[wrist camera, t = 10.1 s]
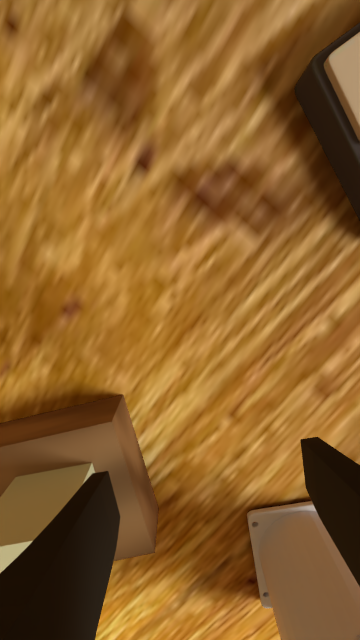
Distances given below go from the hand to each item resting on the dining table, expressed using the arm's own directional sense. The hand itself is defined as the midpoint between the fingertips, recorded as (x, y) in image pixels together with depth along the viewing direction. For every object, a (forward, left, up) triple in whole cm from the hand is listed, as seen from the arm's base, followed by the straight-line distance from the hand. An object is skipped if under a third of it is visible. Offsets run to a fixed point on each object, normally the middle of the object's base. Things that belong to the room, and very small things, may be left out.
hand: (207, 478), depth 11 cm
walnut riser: (-6, +10, -11) cm, 16 cm away
